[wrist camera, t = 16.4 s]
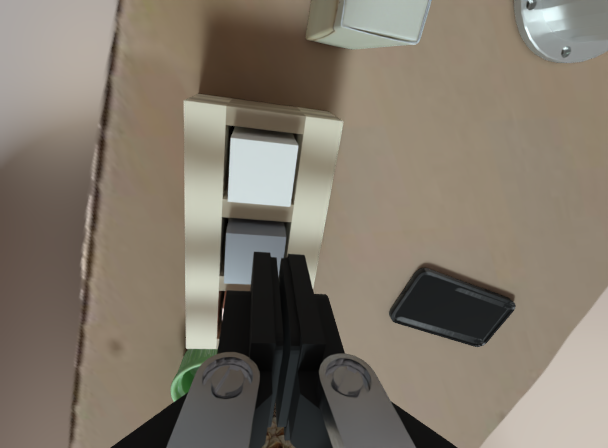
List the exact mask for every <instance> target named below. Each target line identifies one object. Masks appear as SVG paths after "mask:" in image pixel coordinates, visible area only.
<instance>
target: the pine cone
mask: <svg viewBox="0 0 608 448" xmlns="http://www.w3.org/2000/svg"><path fill="white" fill-rule="evenodd" d="M262 448H295V447H294V446H293V445H292V444H291V443H290V441H285V440H284V427H277V424H276V417H273V419H272V425H271V427H268V428H267V435H266V441H265V444H264V446H263V447H262Z"/></svg>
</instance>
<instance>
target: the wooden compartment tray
mask: <svg viewBox="0 0 608 448" xmlns="http://www.w3.org/2000/svg"><path fill="white" fill-rule="evenodd" d="M343 122H344V121H342V120H341V119H339V118H338V117H336V116H334V115H333V114H331V113H330V112H328V111H322V110H315V109H307V108H300V107H292V106H285V105H278V104H270V103H263V102H256V101H248V100H241V99H234V98H226V97H219V96H211V95H204V94H197V95H195V96H192V97H190V98H188V99H186V100H184V175H185V287H186V349H218V345H219V338H220V331H221V324H222V309H223V302H224V299H223V291H227V290H234V291H250V287H251V284H227V283H224V267H225V247H226V223H227V217H228V218H241V219H255V220H268V221H281V222H284V226H285V232H286V244H285V251H284V258H287V255H288V254H300V255H305V258H306V262H307V267H308V271H309V275H310V279H311V284H312V288H313V287H314V281H315V276H316V270H317V265H318V259H319V254H320V248H321V243H322V237H323V232H324V226H325V221H326V215H327V210H328V204H329V199H330V193H331V188H332V182H333V177H334V171H335V166H336V160H337V155H338V149H339V144H340V139H341V133H342V128H343ZM231 126H238V127H247V128H255V129H263V130H271V131H280V132H288V133H294V138H295V140H296V142H297V144H298V153H297V160H296V168H295V175H294V183H293V191H292V198H291V206H290V207H286V206H274V205H262V204H250V203H238V202H228V184H229V160H230V139H231Z"/></svg>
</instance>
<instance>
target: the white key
mask: <svg viewBox="0 0 608 448" xmlns="http://www.w3.org/2000/svg"><path fill="white" fill-rule="evenodd" d="M297 153H298V144H297V142H296V140H295V138H294V136H293V134H292V133H288V132H280V131H271V130H263V129H255V128H247V127H238V126H235V128H234V131H233V133H232V136H231V142H230V163H229V184H228V202H238V203H250V204H262V205H274V206H286V207H290V206H291V198H292V191H293V183H294V175H295V168H296V160H297Z"/></svg>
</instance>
